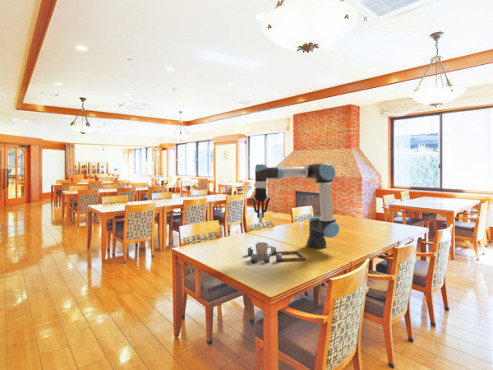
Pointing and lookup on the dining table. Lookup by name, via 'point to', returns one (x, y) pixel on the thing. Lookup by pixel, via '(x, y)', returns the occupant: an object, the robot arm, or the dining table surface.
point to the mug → (262, 250)
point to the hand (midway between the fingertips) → (260, 222)
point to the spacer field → (266, 256)
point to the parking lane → (301, 258)
